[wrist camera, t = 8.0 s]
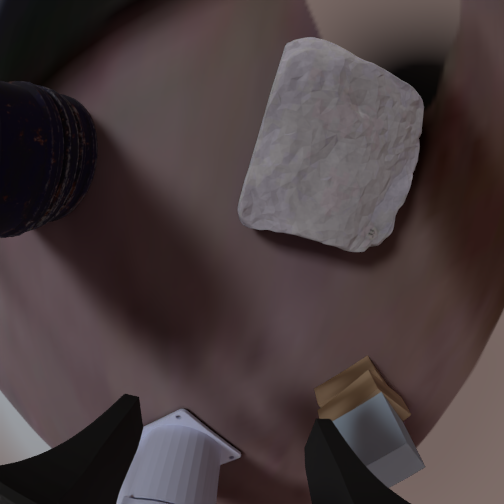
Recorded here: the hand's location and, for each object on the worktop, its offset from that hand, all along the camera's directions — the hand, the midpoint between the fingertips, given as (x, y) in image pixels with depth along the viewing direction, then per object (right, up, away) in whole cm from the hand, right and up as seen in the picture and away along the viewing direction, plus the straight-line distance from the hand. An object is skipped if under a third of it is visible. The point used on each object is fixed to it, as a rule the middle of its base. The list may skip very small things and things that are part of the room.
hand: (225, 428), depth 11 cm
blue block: (+9, -5, +8) cm, 13 cm away
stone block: (+6, +13, +8) cm, 17 cm away
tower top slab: (+10, -5, +10) cm, 15 cm away
